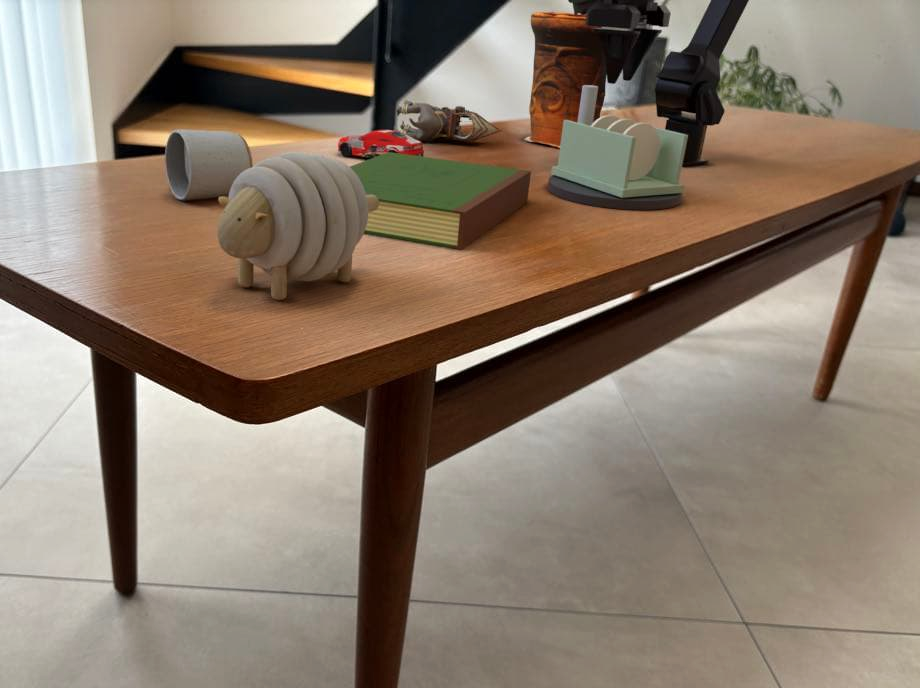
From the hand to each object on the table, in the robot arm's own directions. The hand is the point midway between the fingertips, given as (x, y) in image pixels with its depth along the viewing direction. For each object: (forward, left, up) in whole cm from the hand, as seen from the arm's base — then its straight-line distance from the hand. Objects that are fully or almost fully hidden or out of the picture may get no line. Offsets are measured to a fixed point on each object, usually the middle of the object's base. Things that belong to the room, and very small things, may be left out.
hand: (619, 81), depth 126 cm
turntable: (+13, +13, -12) cm, 22 cm away
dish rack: (+13, +12, -11) cm, 21 cm away
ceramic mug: (+61, -8, -12) cm, 63 cm away
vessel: (-10, -18, -12) cm, 24 cm away
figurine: (+8, -26, -12) cm, 30 cm away
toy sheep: (+68, +25, -12) cm, 74 cm away
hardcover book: (+42, +9, -12) cm, 45 cm away
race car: (+28, -18, -12) cm, 36 cm away
